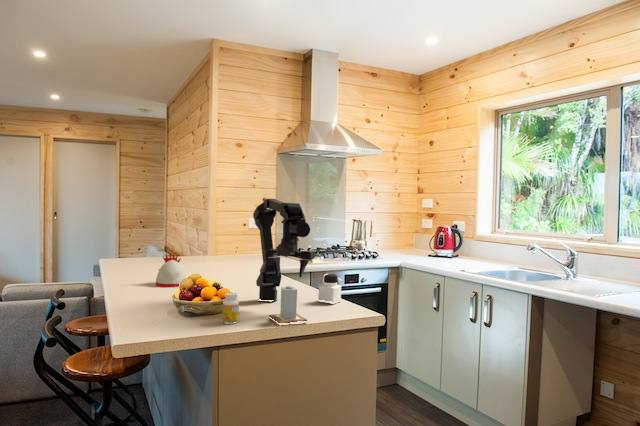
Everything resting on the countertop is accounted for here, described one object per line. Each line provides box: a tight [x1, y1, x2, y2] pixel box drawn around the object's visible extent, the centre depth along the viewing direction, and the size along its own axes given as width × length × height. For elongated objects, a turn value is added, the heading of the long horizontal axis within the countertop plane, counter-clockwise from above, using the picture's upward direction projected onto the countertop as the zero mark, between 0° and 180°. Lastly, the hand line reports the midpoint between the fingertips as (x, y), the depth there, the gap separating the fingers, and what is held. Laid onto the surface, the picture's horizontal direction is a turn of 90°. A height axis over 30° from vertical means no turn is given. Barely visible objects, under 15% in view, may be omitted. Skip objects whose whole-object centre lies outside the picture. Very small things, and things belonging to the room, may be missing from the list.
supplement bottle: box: [221, 292, 240, 324], centre depth 157 cm, size 5×5×10 cm
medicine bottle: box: [317, 273, 342, 302], centre depth 196 cm, size 7×7×12 cm
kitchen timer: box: [155, 253, 187, 288], centre depth 221 cm, size 14×14×15 cm
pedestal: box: [268, 313, 308, 323], centre depth 162 cm, size 10×10×2 cm
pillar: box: [279, 285, 298, 319], centre depth 162 cm, size 4×4×11 cm
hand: (289, 276), depth 177 cm, fingers open, 9 cm apart
